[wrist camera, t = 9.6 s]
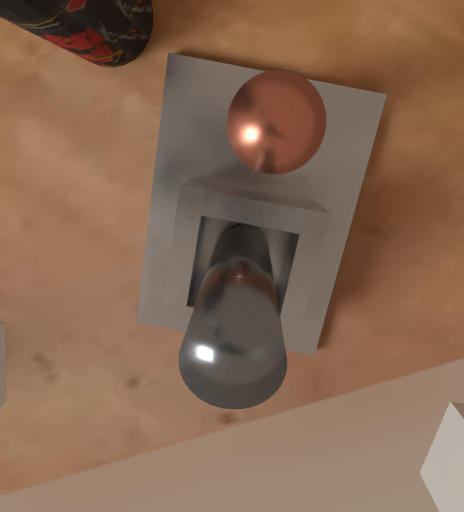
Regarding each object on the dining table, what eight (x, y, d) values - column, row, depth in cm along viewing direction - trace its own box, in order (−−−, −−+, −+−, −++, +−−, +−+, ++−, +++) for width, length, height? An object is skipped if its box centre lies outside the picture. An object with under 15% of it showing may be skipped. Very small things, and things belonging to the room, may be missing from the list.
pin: (218, 222, 27) (186, 305, 13) (274, 232, 27) (298, 325, 13) (209, 274, 28) (172, 398, 15) (263, 284, 28) (274, 417, 15)
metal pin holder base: (170, 55, 25) (113, -8, 14) (382, 95, 25) (477, 62, 14) (139, 317, 30) (81, 408, 20) (313, 349, 30) (345, 457, 20)
